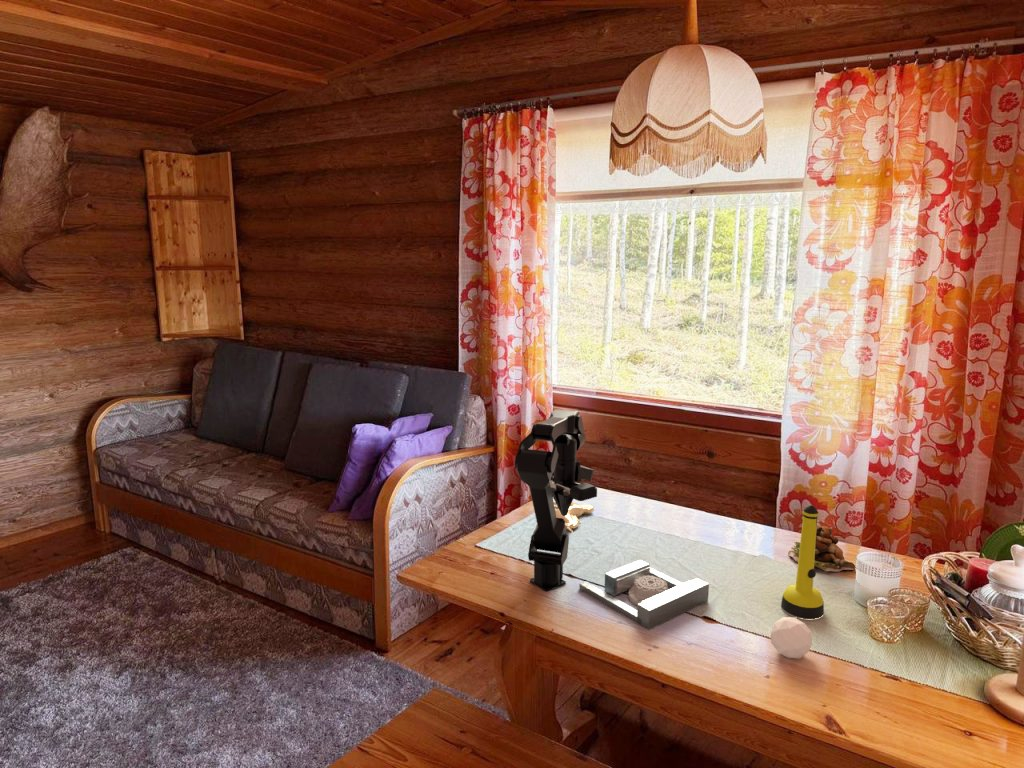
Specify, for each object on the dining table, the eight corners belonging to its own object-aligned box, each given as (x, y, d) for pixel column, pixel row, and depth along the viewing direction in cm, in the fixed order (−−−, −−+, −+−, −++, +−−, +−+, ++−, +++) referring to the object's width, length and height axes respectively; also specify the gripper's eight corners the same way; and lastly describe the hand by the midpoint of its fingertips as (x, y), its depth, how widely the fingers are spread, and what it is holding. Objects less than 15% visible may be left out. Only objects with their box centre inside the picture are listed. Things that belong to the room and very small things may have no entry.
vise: (648, 629, 145) (649, 610, 144) (579, 589, 162) (579, 572, 161) (707, 601, 156) (709, 583, 155) (637, 566, 174) (638, 550, 173)
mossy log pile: (822, 579, 167) (826, 533, 165) (779, 554, 181) (782, 511, 179) (864, 570, 172) (868, 525, 170) (818, 546, 186) (822, 504, 183)
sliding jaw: (615, 597, 158) (615, 579, 157) (604, 591, 161) (605, 573, 160) (650, 582, 165) (651, 564, 164) (639, 576, 168) (640, 559, 167)
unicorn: (572, 491, 217) (614, 509, 205) (571, 502, 218) (613, 521, 206) (527, 506, 203) (570, 526, 191) (526, 518, 204) (568, 539, 192)
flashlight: (780, 501, 150) (812, 515, 142) (810, 495, 154) (843, 509, 146) (772, 604, 155) (802, 624, 147) (801, 596, 158) (832, 615, 150)
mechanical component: (675, 611, 153) (667, 589, 162) (676, 593, 152) (668, 572, 162) (631, 610, 153) (626, 588, 163) (632, 592, 152) (626, 571, 162)
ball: (777, 662, 138) (762, 622, 141) (817, 652, 136) (800, 611, 139) (780, 664, 131) (764, 622, 134) (822, 653, 129) (804, 611, 133)
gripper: (613, 461, 170) (611, 519, 173) (565, 444, 185) (564, 498, 188) (580, 469, 164) (579, 529, 167) (533, 451, 179) (532, 507, 182)
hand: (564, 515), depth 176 cm, fingers closed
